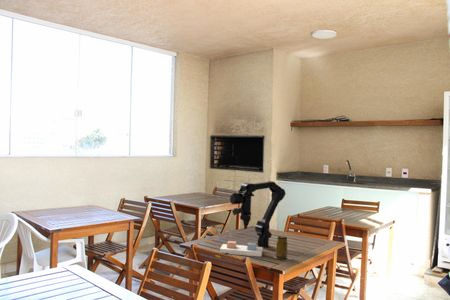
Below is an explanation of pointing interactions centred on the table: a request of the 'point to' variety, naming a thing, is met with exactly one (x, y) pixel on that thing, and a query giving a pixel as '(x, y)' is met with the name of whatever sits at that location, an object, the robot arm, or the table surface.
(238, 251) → the key panel
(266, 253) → the table surface
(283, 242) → the condiment
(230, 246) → the terracotta key
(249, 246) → the slate key
